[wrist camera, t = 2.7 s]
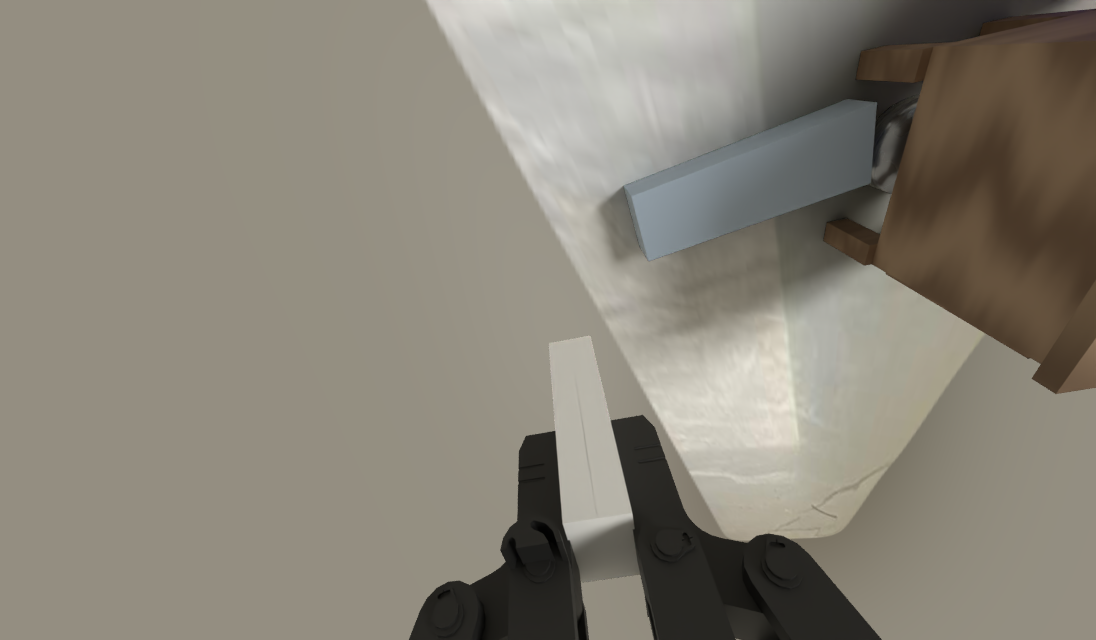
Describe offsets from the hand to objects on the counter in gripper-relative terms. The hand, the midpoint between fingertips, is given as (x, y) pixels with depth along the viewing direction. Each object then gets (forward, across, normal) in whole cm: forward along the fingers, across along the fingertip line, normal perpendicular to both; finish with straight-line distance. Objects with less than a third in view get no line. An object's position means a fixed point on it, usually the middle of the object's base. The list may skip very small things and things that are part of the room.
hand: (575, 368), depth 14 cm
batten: (+18, +13, 0) cm, 22 cm away
